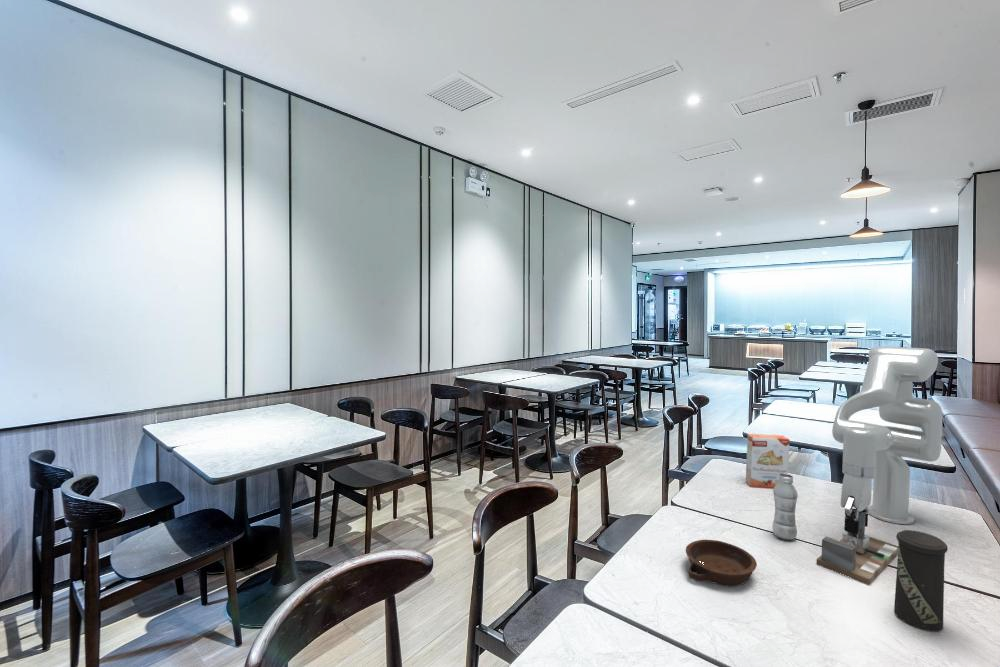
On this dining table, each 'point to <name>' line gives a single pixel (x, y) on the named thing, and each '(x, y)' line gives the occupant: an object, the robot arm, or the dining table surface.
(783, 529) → the plastic bottle
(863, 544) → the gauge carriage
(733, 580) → the dish
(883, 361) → the robot arm
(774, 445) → the cracker box
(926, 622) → the container
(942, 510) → the dining table surface
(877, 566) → the gauge base
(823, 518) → the dining table surface
